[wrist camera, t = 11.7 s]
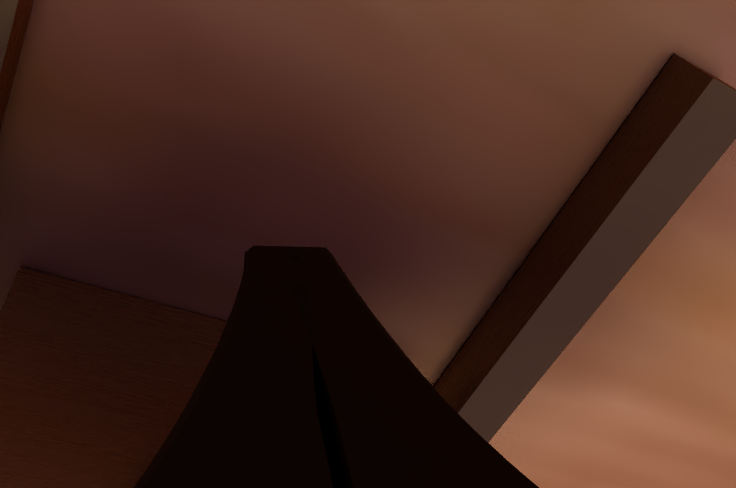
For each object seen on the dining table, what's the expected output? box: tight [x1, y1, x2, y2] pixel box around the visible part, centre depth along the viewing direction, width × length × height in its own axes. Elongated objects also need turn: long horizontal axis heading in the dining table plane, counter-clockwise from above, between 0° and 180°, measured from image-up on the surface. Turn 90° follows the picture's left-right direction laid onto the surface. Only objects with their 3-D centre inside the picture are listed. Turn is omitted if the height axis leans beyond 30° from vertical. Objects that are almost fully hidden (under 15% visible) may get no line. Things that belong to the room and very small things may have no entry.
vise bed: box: [0, 0, 736, 442], centre depth 11 cm, size 10×17×4 cm, turn 153°
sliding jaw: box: [0, 267, 227, 488], centre depth 10 cm, size 7×2×4 cm, turn 62°
